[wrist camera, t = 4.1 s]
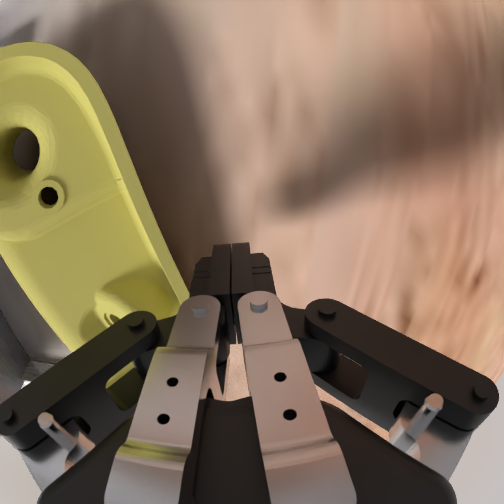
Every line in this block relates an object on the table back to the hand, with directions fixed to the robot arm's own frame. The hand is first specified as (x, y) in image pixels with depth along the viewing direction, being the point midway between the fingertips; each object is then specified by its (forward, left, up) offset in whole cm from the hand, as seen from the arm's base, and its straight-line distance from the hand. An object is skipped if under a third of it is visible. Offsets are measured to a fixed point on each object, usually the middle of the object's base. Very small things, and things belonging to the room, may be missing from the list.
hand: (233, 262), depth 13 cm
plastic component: (+8, -1, -4) cm, 9 cm away
